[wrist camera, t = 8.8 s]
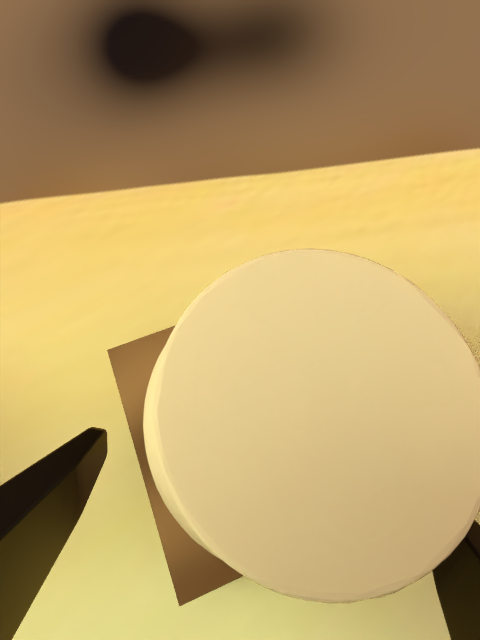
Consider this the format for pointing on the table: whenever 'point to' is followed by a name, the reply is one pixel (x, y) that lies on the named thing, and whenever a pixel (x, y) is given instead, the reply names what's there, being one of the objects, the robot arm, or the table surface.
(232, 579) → the base slab
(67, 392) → the table surface
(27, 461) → the table surface
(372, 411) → the supplement bottle
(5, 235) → the table surface
